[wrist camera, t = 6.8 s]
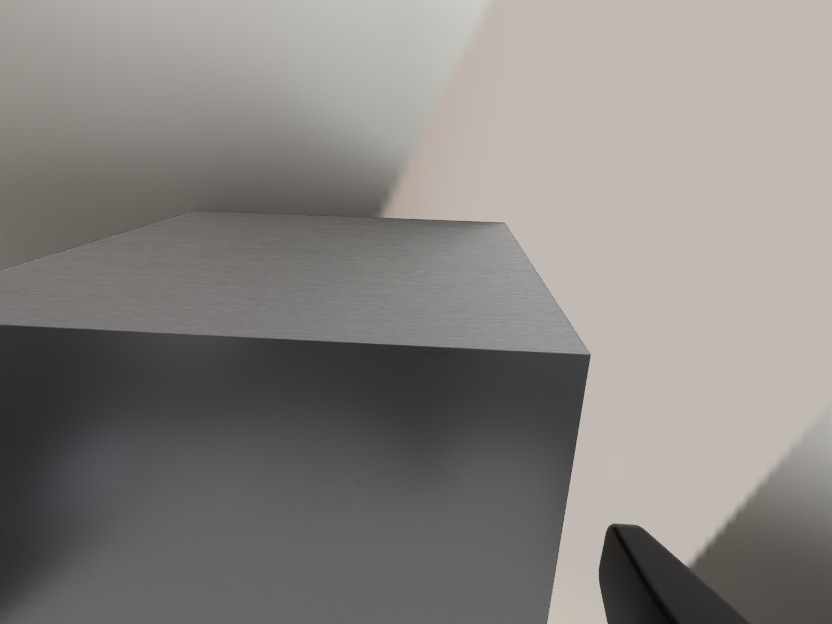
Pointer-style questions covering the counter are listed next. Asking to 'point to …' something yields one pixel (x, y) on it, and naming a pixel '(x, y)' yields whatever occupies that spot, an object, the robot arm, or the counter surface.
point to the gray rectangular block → (285, 425)
